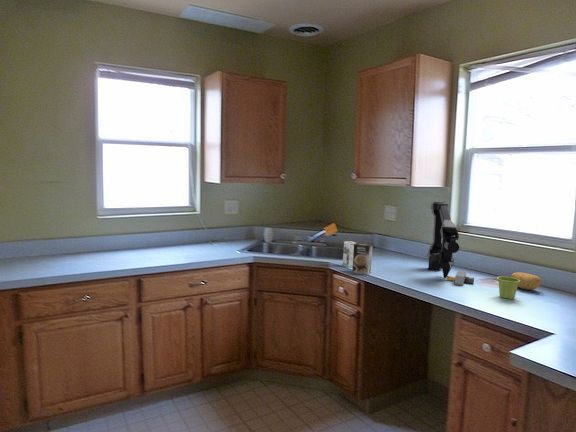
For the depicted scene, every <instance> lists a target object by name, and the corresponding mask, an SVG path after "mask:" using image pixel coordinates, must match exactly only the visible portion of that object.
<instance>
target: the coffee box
mask: <svg viewBox="0 0 576 432" xmlns="http://www.w3.org/2000/svg"><path fill="white" fill-rule="evenodd" d="M355 243H356V244H354V253H353V267H352V273H353V274H357V275H365V276H368V275H370V274H372V260H373V244H369V243H361V242H355Z"/></svg>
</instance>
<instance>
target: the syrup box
mask: <svg viewBox="0 0 576 432" xmlns="http://www.w3.org/2000/svg"><path fill="white" fill-rule="evenodd" d="M356 243H357V242H354V241H352V240H346V241H343V254H342V255H343V256H342V266H344V267H346V268H353V253H354V244H356Z"/></svg>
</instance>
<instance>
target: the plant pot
mask: <svg viewBox="0 0 576 432" xmlns="http://www.w3.org/2000/svg"><path fill="white" fill-rule="evenodd" d="M496 279H497V282H498V289H499V297H501V298H503V299H510V300H512V299H513V300H514V299H515V298H516V294H517V289H518V287H517V286H518V284H519V282H520V280H519V279H516V278H512V277H511V276H497V278H496Z"/></svg>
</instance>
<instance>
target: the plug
mask: <svg viewBox="0 0 576 432" xmlns="http://www.w3.org/2000/svg"><path fill="white" fill-rule="evenodd" d="M446 281H450V282H451V281H452V282H455V276H449V275H447V277H446ZM474 283H475V277H471V276H466V278H465V280H464V284H472V285H474Z"/></svg>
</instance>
